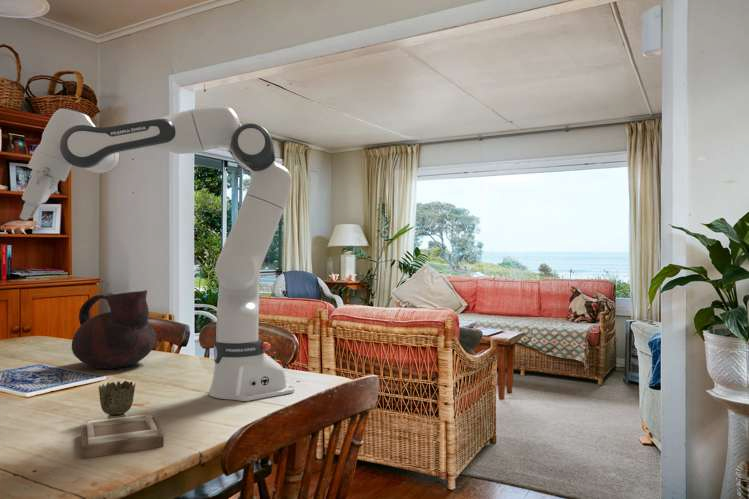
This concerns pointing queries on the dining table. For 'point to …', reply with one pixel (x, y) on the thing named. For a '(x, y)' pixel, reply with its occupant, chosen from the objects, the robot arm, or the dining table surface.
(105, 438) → the plate
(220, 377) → the robot arm
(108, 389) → the cup
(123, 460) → the dining table surface
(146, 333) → the jug
